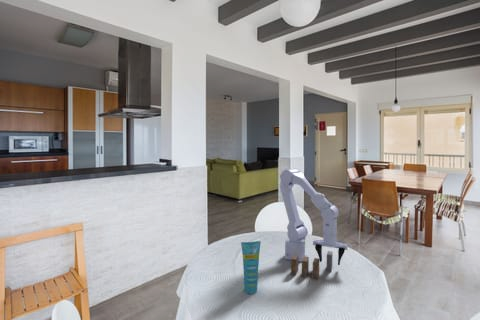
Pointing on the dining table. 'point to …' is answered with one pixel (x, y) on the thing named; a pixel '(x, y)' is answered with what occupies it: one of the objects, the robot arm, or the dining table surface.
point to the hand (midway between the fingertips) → (329, 262)
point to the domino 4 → (329, 260)
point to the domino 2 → (305, 266)
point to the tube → (250, 265)
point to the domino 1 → (294, 264)
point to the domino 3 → (315, 268)
